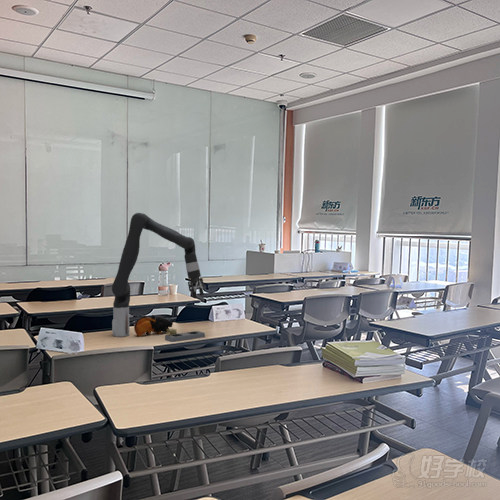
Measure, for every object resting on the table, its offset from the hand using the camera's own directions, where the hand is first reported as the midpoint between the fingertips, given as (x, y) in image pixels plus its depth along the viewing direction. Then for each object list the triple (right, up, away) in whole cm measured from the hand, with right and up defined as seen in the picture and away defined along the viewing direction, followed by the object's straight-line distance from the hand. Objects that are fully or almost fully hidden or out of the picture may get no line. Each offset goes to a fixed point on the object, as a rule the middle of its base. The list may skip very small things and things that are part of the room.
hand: (198, 296), depth 293 cm
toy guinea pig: (-28, -24, +8) cm, 38 cm away
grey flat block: (-7, -24, -4) cm, 25 cm away
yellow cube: (-16, -24, 0) cm, 29 cm away
